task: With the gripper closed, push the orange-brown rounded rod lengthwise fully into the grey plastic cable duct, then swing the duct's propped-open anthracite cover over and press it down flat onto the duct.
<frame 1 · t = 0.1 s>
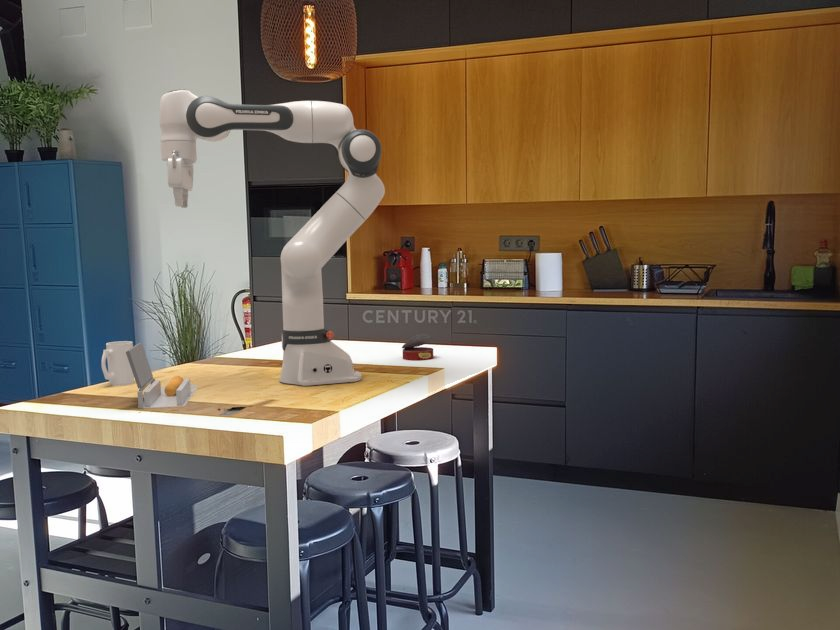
hand: (181, 207, 210), 48 cm above the table, fingers open, 8 cm apart
mug: (117, 388, 214), on the table
canned food: (417, 359, 255), on the table
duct: (170, 401, 194), on the table
knife: (238, 411, 185), on the table
lid: (140, 366, 190), point 9 cm above the table, hinge at 105.0°
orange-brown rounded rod: (174, 391, 202), point 1 cm above the table, touching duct
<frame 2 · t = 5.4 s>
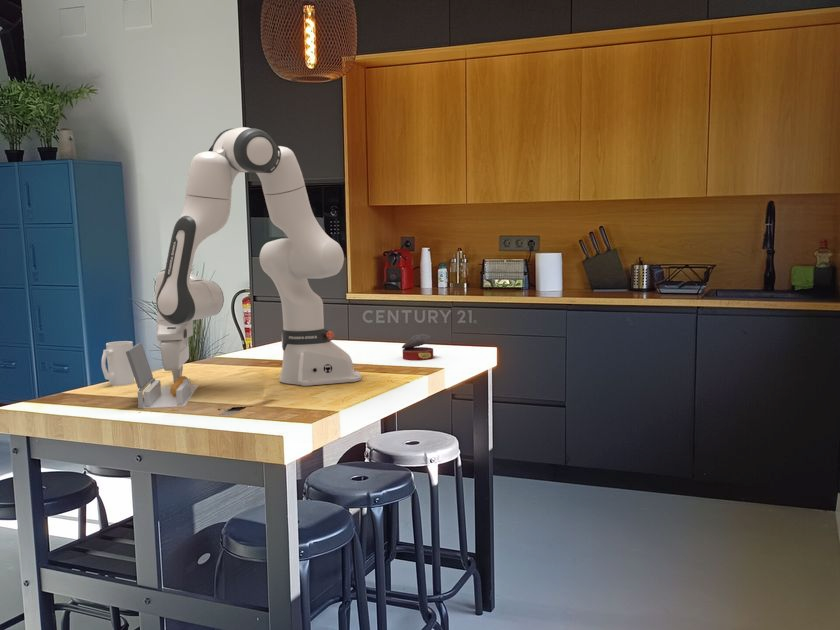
hand: (177, 382, 208), 2 cm above the table, fingers closed
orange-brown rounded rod: (175, 389, 201), point 2 cm above the table, tilted 55°, touching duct, gripper
everything else where it was.
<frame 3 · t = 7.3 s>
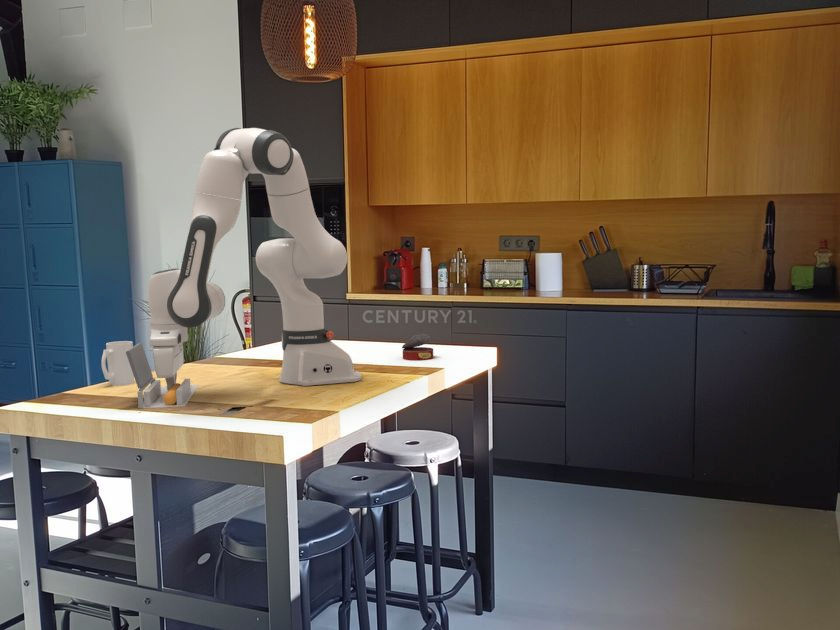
hand: (171, 389, 198), 2 cm above the table, fingers closed
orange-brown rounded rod: (169, 398, 191), point 1 cm above the table, tilted 45°, touching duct
everything else where it was.
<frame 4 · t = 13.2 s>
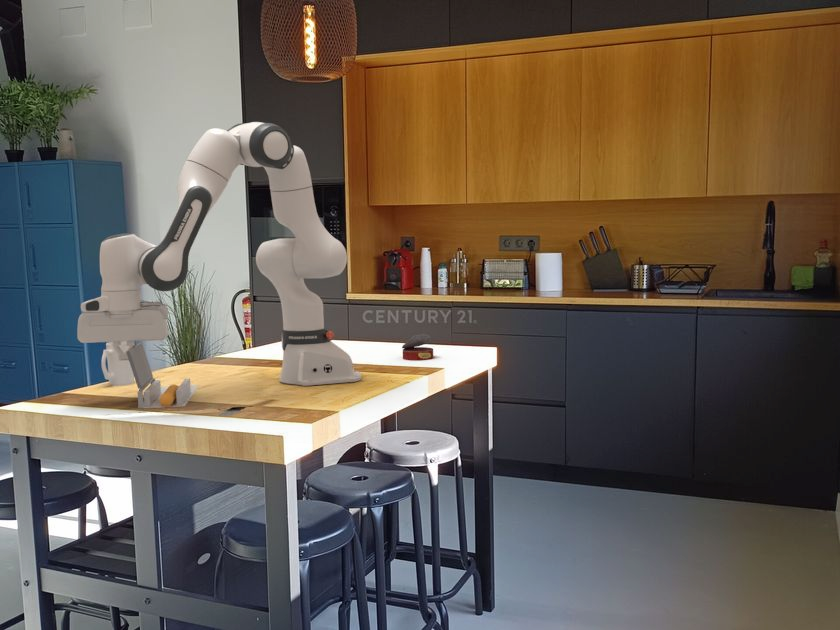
hand: (124, 360, 190), 11 cm above the table, fingers closed
lid: (140, 366, 190), point 9 cm above the table, hinge at 104.4°, touching gripper
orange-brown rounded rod: (168, 401, 190), point 1 cm above the table, tilted 18°, touching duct
everything else where it was.
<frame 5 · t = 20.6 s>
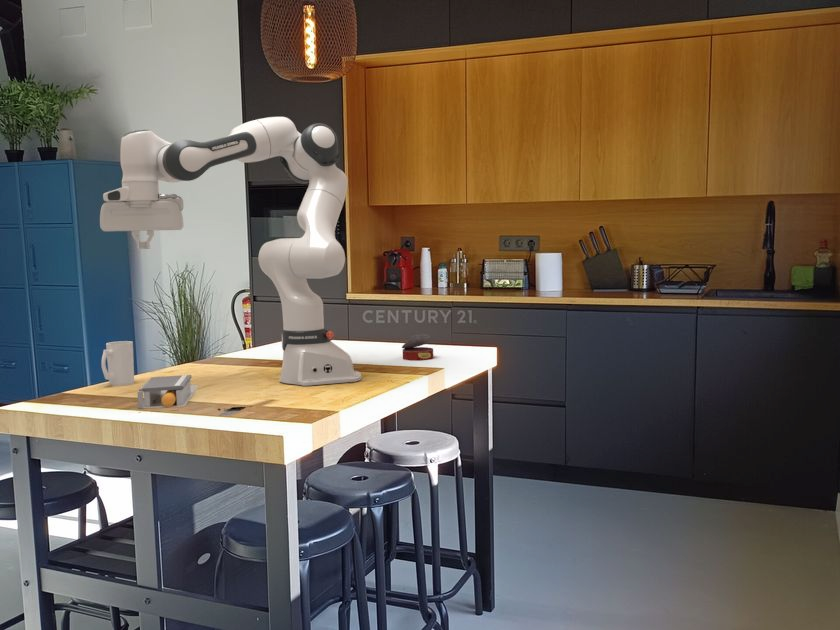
hand: (143, 248, 205), 37 cm above the table, fingers closed
lid: (166, 382, 192), point 5 cm above the table, hinge at 1.1°
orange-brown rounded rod: (168, 400, 190), point 1 cm above the table, tilted 35°, touching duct
everything else where it was.
at the end: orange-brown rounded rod 3.0 cm from the target spot on the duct, point 1.2 cm above the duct's base; lid at +1° (first picture: +105°) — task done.
